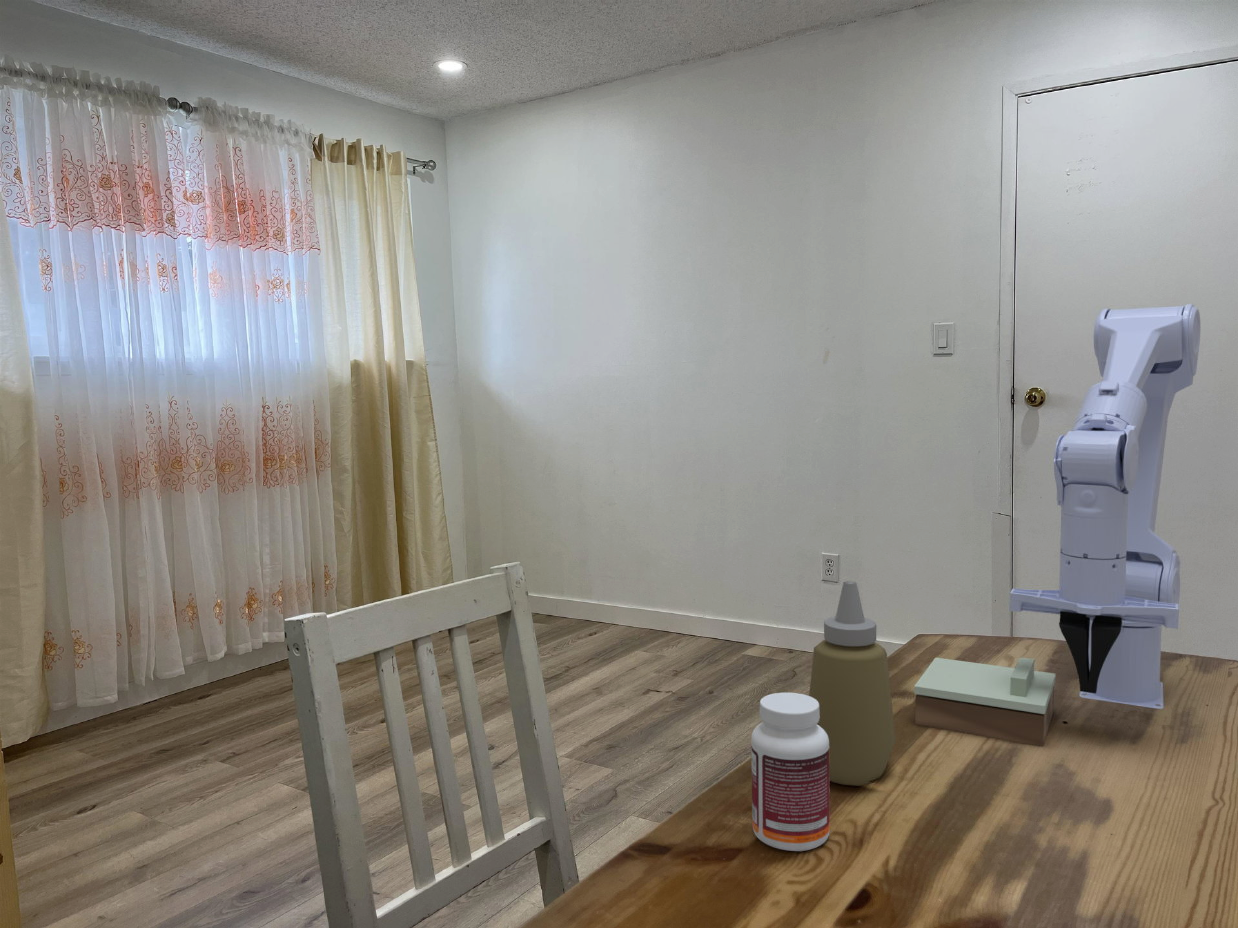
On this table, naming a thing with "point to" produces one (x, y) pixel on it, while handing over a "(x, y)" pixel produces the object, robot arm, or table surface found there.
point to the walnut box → (984, 719)
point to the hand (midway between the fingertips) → (1088, 689)
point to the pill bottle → (790, 774)
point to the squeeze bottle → (853, 693)
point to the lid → (988, 684)
